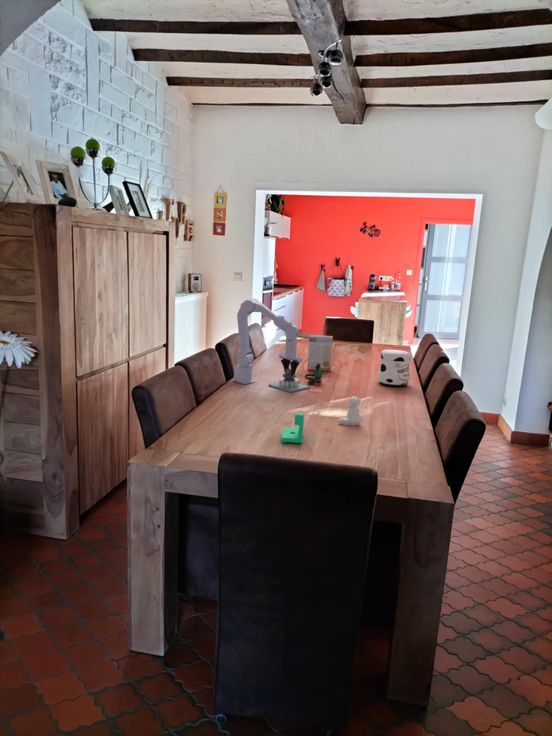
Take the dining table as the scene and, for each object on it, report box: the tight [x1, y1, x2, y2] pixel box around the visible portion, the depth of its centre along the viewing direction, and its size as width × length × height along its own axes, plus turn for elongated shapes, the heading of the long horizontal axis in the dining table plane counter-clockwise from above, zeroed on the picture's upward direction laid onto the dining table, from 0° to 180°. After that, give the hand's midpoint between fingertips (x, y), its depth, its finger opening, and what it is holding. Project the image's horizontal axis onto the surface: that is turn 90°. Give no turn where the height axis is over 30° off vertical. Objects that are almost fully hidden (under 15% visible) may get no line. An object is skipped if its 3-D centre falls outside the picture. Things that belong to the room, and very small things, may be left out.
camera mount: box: [281, 413, 305, 444], centre depth 203 cm, size 12×8×10 cm, turn 175°
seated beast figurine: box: [337, 396, 363, 427], centre depth 224 cm, size 10×9×12 cm
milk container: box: [377, 349, 411, 387], centre depth 295 cm, size 17×17×18 cm
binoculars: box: [304, 364, 324, 386], centre depth 290 cm, size 9×11×10 cm
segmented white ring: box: [278, 376, 300, 388], centre depth 279 cm, size 10×10×3 cm
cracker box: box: [307, 334, 334, 372], centre depth 321 cm, size 14×6×21 cm, turn 84°
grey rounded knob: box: [282, 367, 297, 381], centre depth 278 cm, size 7×7×7 cm
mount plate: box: [268, 381, 310, 394], centre depth 280 cm, size 16×14×1 cm
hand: (289, 373), depth 278 cm, fingers closed on grey rounded knob, 4 cm apart
